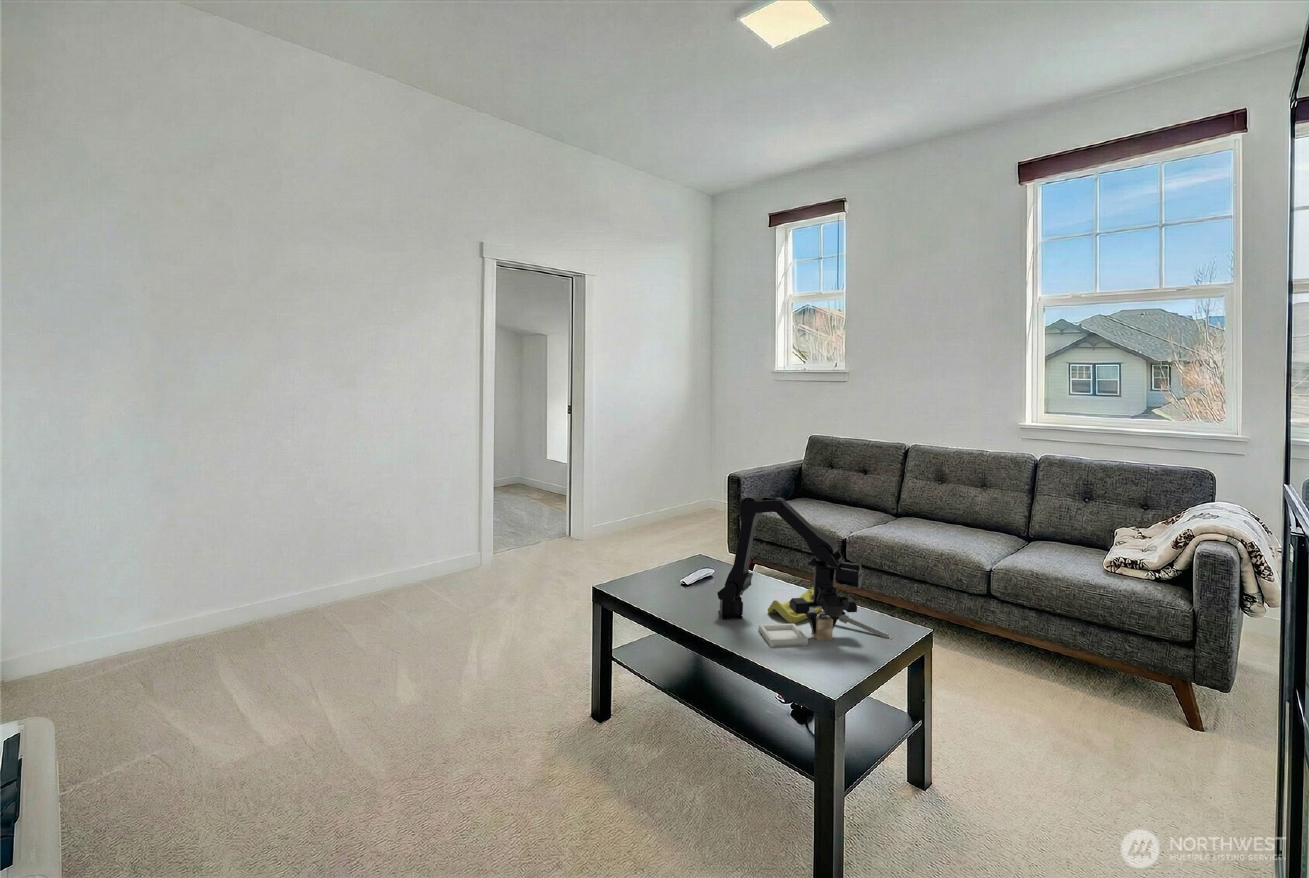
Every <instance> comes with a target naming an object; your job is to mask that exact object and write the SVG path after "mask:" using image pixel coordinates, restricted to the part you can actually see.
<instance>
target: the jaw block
mask: <svg viewBox="0 0 1309 878" xmlns="http://www.w3.org/2000/svg"><path fill="white" fill-rule="evenodd" d="M816 614H817V616H816V632H815V634H813V632H812V631H811V635H812V636H813V637H814V639H815V640H817V641H831V640H833V635H834V634H833V630H834V628H833V619H832V618H831V617H830V616H828V615H826V614H825V613H824V612H821V611H820V612H818V613H816Z"/></svg>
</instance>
